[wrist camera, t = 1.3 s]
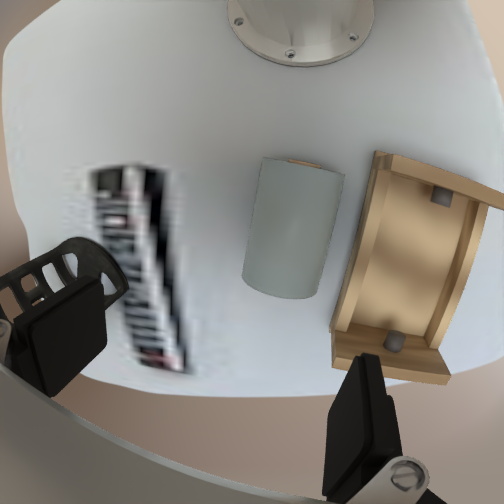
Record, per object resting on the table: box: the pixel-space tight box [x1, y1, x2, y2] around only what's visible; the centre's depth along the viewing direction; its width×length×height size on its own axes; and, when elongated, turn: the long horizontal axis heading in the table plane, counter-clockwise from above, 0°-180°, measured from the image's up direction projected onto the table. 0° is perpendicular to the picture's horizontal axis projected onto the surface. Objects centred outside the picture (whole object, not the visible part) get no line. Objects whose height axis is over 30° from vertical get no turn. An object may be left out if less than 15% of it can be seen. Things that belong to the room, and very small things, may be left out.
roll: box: [242, 158, 345, 299], centre depth 23 cm, size 10×6×6 cm, turn 170°
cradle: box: [329, 151, 504, 385], centre depth 21 cm, size 16×10×7 cm, turn 170°
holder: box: [0, 238, 128, 328], centre depth 23 cm, size 11×8×20 cm
